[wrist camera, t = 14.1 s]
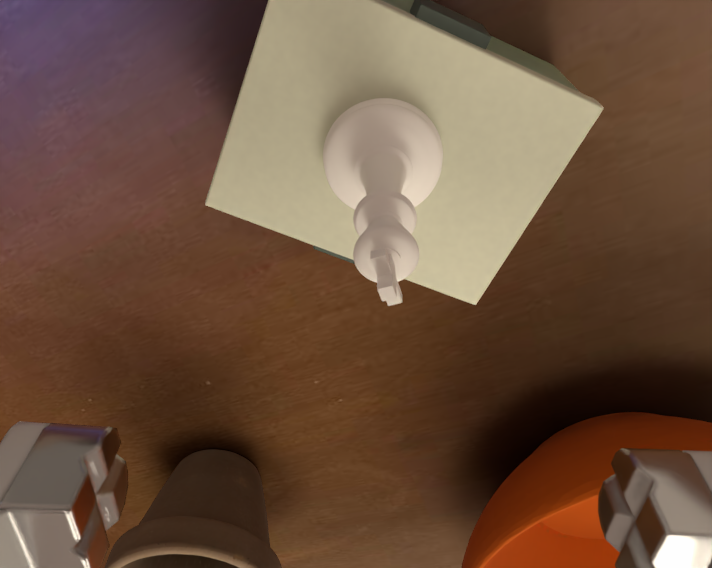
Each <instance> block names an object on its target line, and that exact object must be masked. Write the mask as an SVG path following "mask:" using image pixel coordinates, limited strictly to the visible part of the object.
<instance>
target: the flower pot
mask: <svg viewBox="0 0 712 568" xmlns="http://www.w3.org/2000/svg"><path fill="white" fill-rule="evenodd" d="M105 568H282V567H281V564H280V561H279V559H278V557H277V555H276V554H275V553H274V551H273V550H272V549H271V548H270V542H269V533H268V521H267V513H266V506H265V499H264V493H263V487H262V481H261V477H260V474H259V472H258V470H257V469H256V467H255V466H254V465H253V464H252V463H251V462H250V461H248V460H247V459H246V458H244V457H242V456H240V455H238V454H236V453H233V452H229V451H225V450H218V449H209V450H202V451H198V452H195V453H192V454H190V455H189V456H187V457H185V458H184V459H183V460H182V461H181V462H180V463H179V464H178V466H177V467H176V468H175V470H174V471H173V473H172V474H171V475H170V477H169V478H168V480H167V481H166V483H165V484H164V486H163V487H162V489H161V490H160V492H159V493H158V495H157V497H156V498H155V500H154V501H153V503H152V505H151V506H150V508H149V510H148V511H147V513H146V514H145V516H144V518H143V519H142V520H141V522H140V523H139V525H137V526H135V527H134V528H132V529H130V530H129V531H127V532H126V533H124V534H123V535H122V536H121V537H120V538H119V539H118V540H117V541H116V543H115V544H114V546H113V548H112V550H111V552H110V555H109V557H108V560H107V563H106V566H105Z"/></svg>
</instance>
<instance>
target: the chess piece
mask: <svg viewBox="0 0 712 568" xmlns="http://www.w3.org/2000/svg"><path fill="white" fill-rule="evenodd" d="M442 161H443V148H442V142H441V138H440V135H439V133H438V131H437V129H436V127H435V125H434V124H433V122H432V121H431V120H430V118H429V117H428V116H427V115H426V114H425V113H423V112H422V111H421V110H420V109H418V108H417V107H415V106H413V105H411V104H409V103H407V102H404V101H401V100H397V99H391V98H376V99H370V100H366V101H363V102H360V103H358V104H356V105H354V106H352V107H351V108H349V109H348V110H346V111H345V112H344V113H342V114H341V115H340V116H339V117H338V118H337V120H336V121H335V122H334V123H333V125H332V126H331V128H330V130H329V132H328V134H327V136H326V139H325V143H324V148H323V164H324V169H325V174H326V177H327V180H328V183H329V185H330V187H331V188H332V190H333V192H334V193H335V194H336V195H337V197H338V198H339V199H340V200H341V201H342V202H344V203H345V204H346V205H347V206H349V207H350V208H352V209H354V210H355V211H354V216H353V222H354V227H355V229H356V231H357V233H358V235H359V236H360V237H359V238H358V240H357V242H356V244H355V247H354V252H353V258H354V263H355V265H356V267H357V269H358V271H359V272H360V273H361V274H362V275H363V276H364V277H366V278H367V279H369V280H371V281H373V282H377V290H378V292H379V295H380V298H381V300H382V302H383V301H387V304H388V306H391V305H394V304H398V303H402V293H401V290H400V287H399V284H398V281H401V280H403V279H405V278H406V277H408V276H409V275H410V274H411V273H412V272H413V271H414V269H415V268H416V266H417V264H418V260H419V248H418V245H417V242H416V240H415V239H414V237H413V236H412V235H411V234H412V233H413V231H414V229H415V226H416V222H417V215H416V210H415V208H414V207H416V206H417V205H419V204H420V203H421V202H423V201H424V200H425V199H426V198H427V197H428V196H429V194H430V193H431V192H432V190H433V189H434V187H435V185H436V184H437V181H438V179H439V176H440V173H441V168H442Z"/></svg>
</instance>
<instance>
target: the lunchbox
mask: <svg viewBox="0 0 712 568" xmlns="http://www.w3.org/2000/svg"><path fill="white" fill-rule="evenodd" d="M376 98H391V99H397V100H401V101H404V102H407V103H409V104H411V105H413V106H415V107H417V108H418V109H420V110H421V111H422V112H423V113H425V114H426V115H427V116H428V117H429V118H430V120H431V121H432V122H433V124H434V125H435V127H436V129H437V131H438V133H439V135H440V138H441V142H442V148H443V161H442V168H441V173H440V176H439V179H438V181H437V184H436V185H435V187H434V189H433V190H432V192H431V193H430V194H429V196H428V197H427V198H426V199H425V200H424V201H423V202H421V203H420V204H419V205H417V206H416V207H414V208H415V210H416V215H417V222H416V226H415V229H414V231H413V233H412V234H411V235H412V236H413V237H414V239H415V240H416V242H417V245H418V248H419V260H418V264H417V266H416V268H415V269H414V271H413V272H412V273H411V274H410V275H409V276H408V277H406V278H405V279H406V280H409V281H411V282H414V283H417V284H419V285H422V286H425V287H427V288H430V289H433V290H435V291H438V292H441V293H444V294H446V295H449V296H452V297H454V298H457V299H460V300H462V301H465V302H468V303H471V304H473V305H476V304H477V302H478V301H479V299H480V298H481V296H482V295H483V293H484V292H485V290H486V289H487V287H488V286H489V284H490V282H491V281H492V279H493V278H494V276H495V275H496V273H497V272H498V270H499V269H500V267H501V266H502V264H503V262H504V261H505V259H506V258H507V256H508V255H509V253H510V252H511V250H512V249H513V247H514V246H515V244H516V243H517V241H518V239H519V238H520V236H521V235H522V233H523V232H524V230H525V229H526V227H527V226H528V224H529V223H530V221H531V219H532V218H533V216H534V215H535V213H536V212H537V210H538V209H539V207H540V206H541V204H542V203H543V201H544V199H545V198H546V196H547V195H548V193H549V192H550V190H551V189H552V187H553V186H554V184H555V183H556V181H557V180H558V178H559V176H560V175H561V173H562V172H563V170H564V169H565V167H566V166H567V164H568V163H569V161H570V160H571V158H572V156H573V155H574V153H575V152H576V150H577V149H578V147H579V146H580V144H581V143H582V141H583V140H584V138H585V137H586V135H587V133H588V132H589V130H590V129H591V127H592V126H593V124H594V123H595V121H596V120H597V118H598V117H599V115H600V113H601V112H602V110H603V106H602V105H601V104H600V103H599V102H598V101H597V100H595V99H593V98H591V97H589V96H587V95H585V94H582V93H580V92H579V91H578V90H577V89H576V88H575V87H574V86H573V85H572V84H571V83H570V82H569V81H568V80H567V79H566V77H565V76H564V75H563V74H562V73H561V72H560V71H559V70H558V69H557V68H556V67H555V66H554V65H552V64H550V63H548V62H546V61H544V60H542V59H539V58H537V57H535V56H533V55H531V54H529V53H527V52H525V51H522V50H520V49H518V48H516V47H514V46H512V45H510V44H507V43H505V42H503V41H501V40H499V39H497V38H495V37H493V36H490V34H489V33H488V32H487V30H486V29H485V28H484V26H483V25H482V24H480V23H478V22H476V21H474V20H472V19H470V18H467V17H465V16H463V15H461V14H459V13H457V12H455V11H453V10H450V9H448V8H446V7H444V6H442V5H440V4H438V3H436V2H434V1H431V0H268V3H267V6H266V9H265V12H264V16H263V19H262V22H261V25H260V29H259V32H258V35H257V38H256V41H255V45H254V48H253V51H252V54H251V57H250V61H249V64H248V67H247V70H246V73H245V77H244V80H243V83H242V86H241V89H240V93H239V96H238V99H237V102H236V105H235V109H234V112H233V115H232V118H231V121H230V125H229V128H228V131H227V134H226V137H225V141H224V144H223V147H222V150H221V153H220V157H219V160H218V163H217V166H216V169H215V173H214V176H213V179H212V182H211V185H210V189H209V192H208V195H207V198H206V202H205V205H206V206H209V207H212V208H215V209H217V210H220V211H223V212H225V213H228V214H231V215H233V216H236V217H239V218H241V219H244V220H247V221H250V222H252V223H255V224H258V225H260V226H263V227H266V228H268V229H271V230H274V231H277V232H279V233H282V234H285V235H287V236H290V237H293V238H295V239H298V240H301V241H303V242H306V243H309V244H312V245H314V247H313V248H314V249H316V250H318V251H321V252H324V253H327V254H329V255H332V256H335V257H337V258H340V259H343V260H345V261H348V262H351V263H354V258H353V252H354V247H355V244H356V242H357V240H358V238H359V237H360V236H359V235H358V233H357V231H356V229H355V227H354V222H353V216H354V211H355V210H354V209H352V208H350V207H349V206H347V205H346V204H345V203H344V202H342V201H341V200H340V199H339V198H338V197H337V195H336V194H335V193H334V192H333V190H332V188H331V187H330V185H329V183H328V180H327V177H326V174H325V169H324V164H323V148H324V143H325V139H326V136H327V134H328V132H329V130H330V128H331V126H332V125H333V123H334V122H335V121H336V120H337V118H338V117H339V116H340V115H341V114H342V113H344V112H345V111H346V110H348V109H349V108H351V107H352V106H354V105H356V104H358V103H360V102H363V101H366V100H370V99H376ZM354 264H355V263H354Z"/></svg>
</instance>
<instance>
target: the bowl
mask: <svg viewBox="0 0 712 568" xmlns="http://www.w3.org/2000/svg"><path fill="white" fill-rule="evenodd" d="M621 448H636V449H669V450H680V451H683V450H688V451H712V423H710V422H705V421H701V420H694V419H688V418H681V417H673V416H662V415H658V414H652V413H643V412H623V413H613V414H607V415H602V416H597V417H593V418H590V419H587V420H584V421H581V422H578V423H575V424H573V425H571V426H568V427H566V428H565V429H563V430H561V431H559V432H557V433H556V434H554V435H553V436H551V437H550V438H548V439H547V440H546V441H544V442H543V443H542V444H541V445H540V446H539V447H538V448H537V449H536V450H535V451H534V452H533V453H532V454H531V455H530V456H529V457H528V458H526V459H525V460H524V461H523V462H522V463H521V464H520V465H519V466H518V467H517V468H516V469H515V470H514V471H513V472H512V473H511V474H510V475H509V476H508V477H507V478H506V479H505V481H504V482H503V483H502V484H501V485H500V487H499V488H498V489H497V491H496V492H495V493H494V495H493V496H492V497H491V499H490V500H489V502H488V504H487V505H486V507H485V508H484V510H483V512H482V514H481V516H480V518H479V520H478V522H477V524H476V526H475V528H474V530H473V533H472V535H471V537H470V540H469V543H468V546H467V549H466V552H465V556H464V560H463V563H462V568H616V567H615V562H616V560H617V557H618V555H619V551H617V550H616V549H615V548H614V547H613V546H612V545H611V544H610V543H609V542H608V541H607V540H606V539H605V537H604V534H603V531H602V528H601V525H600V520H599V515H598V495H599V492H600V489H601V486H602V484H603V481H605V480H606V479H608V478H609V477H611V476H612V475H614V474H615V472H614V470H613V468H612V465H611V462H612V460H613V457H614V455H615V453H616V452H617V451H618V450H620V449H621Z"/></svg>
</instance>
